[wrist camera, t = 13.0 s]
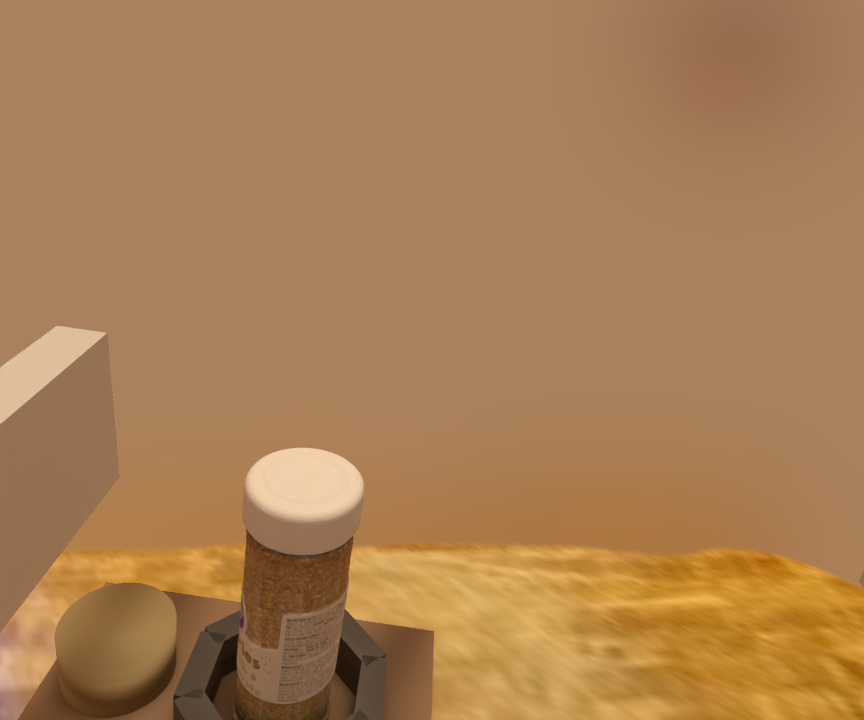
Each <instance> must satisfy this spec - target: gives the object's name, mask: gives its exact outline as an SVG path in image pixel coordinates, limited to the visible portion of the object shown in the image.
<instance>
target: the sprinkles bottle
mask: <svg viewBox="0 0 864 720" xmlns="http://www.w3.org/2000/svg"><path fill="white" fill-rule="evenodd" d="M243 497H244V498H243V514H242V515H243V522H244V524H245V527H246V532H247V535H246V552H245V567H244V580H243V584H242V595H241V612H240V625H239V637H238V649H237V672H238V673H237V688H236V693H235V696H234V699H233V704H232V719H233V720H328V718H329V714H330V709H331V699H330V690H331V682H332V676H333V674H334V671H335V667H336V661H337V655H338V649H339V642H340V636H341V630H342V623H343V617H344V610H345V603H346V596H347V590H348V582H349V576H348V574H349V565H350V557H351V551H352V545H353V535H354V534H355V533H356V531H357V529H358V527H359V524H360V520H361V514H362V507H363V498H364V482H363V479H362V477H361V474H360V473H359V471H358V470H357V469H356V468H355V467H354V466H353V465H352V464H351V463H350V462H349V461H347V460H346V459H344V458H342V457H341V456H338V455H336V454H334V453H331V452H327V451H325V450H320V449H313V448H292V449H285V450H280V451H277V452H274V453H271V454H270V455H267V456H265V457H263V458H262V459H260V460H259V461H258V462H256V463H255V464H254V465H253V466H252V468H251V469H250V471H249V472H248V474H247V476H246V479H245V486H244V496H243Z"/></svg>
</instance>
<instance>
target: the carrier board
mask: <svg viewBox="0 0 864 720" xmlns="http://www.w3.org/2000/svg"><path fill="white" fill-rule="evenodd" d="M240 612H241V602H234V601H227V600H221V599H214V598H207V597H201V596H194V595H187V594H180V593H174V592H167V591H161V590H159V589H157V588H155V587H152V586H149V585H145V584H140V583H121V584H113V583H105V585H104V586H103V588H100V589H97V590H95V591H93V592H90V593H89V594H87V595H85V596H83V597H82V598H80V599H79V600H77V601H76V602H75V603H74V604H73V605H71V606H70V607H69V608H68V610H67V611H66V612H65V613H64V614H63V616H62V617H61V619H60V621H59V623H58V625H57V628H56V632H55V645H56V655H57V659H56V661H55V663H54V664H53V666H52V667H51V669H50V670H49V672H48V673H47V675H46V677H45V678H44V680H43V681H42V683H41V684H40V686H39V687H38V689H37V691H36V692H35V694H34V695H33V697H32V698H31V700H30V701H29V703H28V705H27V706H26V708H25V709H24V711H23V712H22V714H21V715H20V717H19V719H18V720H233V719H232V704H233V699H234V696H235V693H236V688H237V673H238V672H237V649H238V637H239V625H240ZM433 645H434V631H429V630H422V629H415V628H409V627H402V626H395V625H389V624H382V623H375V622H368V621H362V620H355V619H354V618H353V617H352V616H351V615H350V614H349V613H348V612H347V611H346V610H344V617H343V623H342V630H341V636H340V642H339V649H338V655H337V661H336V667H335V671H334V674H333V676H332V682H331V690H330V699H331V709H330V714H329V718H328V720H431V703H432V674H433Z"/></svg>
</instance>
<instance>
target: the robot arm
mask: <svg viewBox="0 0 864 720" xmlns="http://www.w3.org/2000/svg"><path fill="white" fill-rule="evenodd" d="M110 373H111V372H110V361H109V349H108V337H107V333H103V332H96V331H89V330H83V329H75V328H68V327H62V326H56V327H55V328H54V329H52V330H51V331H50V332H48V333H47V334H45V335H44V336H43V337H41V338H40V339H39V340H37V341H36V342H34V343H33V344H32V345H30V346H29V347H28V348H27V349H25V350H23V351H22V352H21V353H19V354H18V355H17V356H15V357H14V358H13V359H11V360H10V361H8V362H7V363H6V364H4V365H3V366H2V367H0V632H1V631H2V629H3V628H4V627H5V625H6V624H7V623H8V622H9V620H10V619H11V618H12V616H13V615H14V614H15V612H16V611H17V610H18V609H19V607H20V606H21V605H22V603H23V602H24V601H25V599H26V598H27V597H28V596H29V594H30V593H31V592H32V590H33V589H34V588H35V586H36V585H37V584H38V582H39V581H40V580H41V579H42V577H43V576H44V575H45V573H46V572H47V571H48V569H49V568H50V567H51V566H52V564H53V563H54V562H55V560H56V559H57V558H58V556H59V555H60V554H61V553H62V551H63V550H64V549H65V547H66V546H67V545H68V543H69V542H70V541H71V540H72V538H73V537H74V536H75V534H76V533H77V532H78V530H79V529H80V528H81V526H82V525H83V524H84V523H85V521H86V520H87V519H88V517H89V516H90V515H91V513H92V512H93V511H94V510H95V508H96V507H97V505H98V504H99V503H100V502H101V500H102V499H103V498H104V496H105V495H106V494H107V493H108V491H109V490H110V489H111V487H112V486H113V485H114V484H115V482H116V481H117V480H118V478H119V465H118V455H117V443H116V430H115V420H114V407H113V396H112V384H111V374H110ZM859 582H860V583H861V584H862V586H863V587H864V573H863V574H862V576H861V578H860V579H859Z"/></svg>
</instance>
